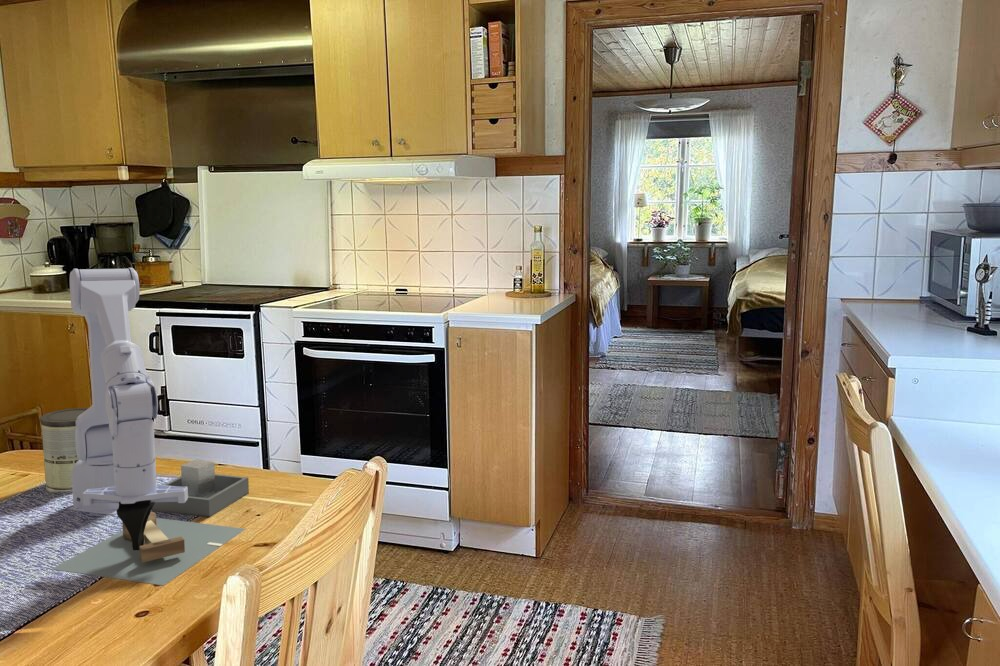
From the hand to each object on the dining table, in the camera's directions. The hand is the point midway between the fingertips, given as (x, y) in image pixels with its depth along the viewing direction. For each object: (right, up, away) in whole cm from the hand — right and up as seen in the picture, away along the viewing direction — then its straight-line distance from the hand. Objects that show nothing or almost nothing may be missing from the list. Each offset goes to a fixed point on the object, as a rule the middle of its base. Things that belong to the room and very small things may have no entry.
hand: (138, 547), depth 117 cm
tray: (0, +2, +24) cm, 24 cm away
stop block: (0, +2, +23) cm, 23 cm away
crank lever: (0, -1, +4) cm, 4 cm away
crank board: (+1, -1, +4) cm, 4 cm away
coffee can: (-28, +3, +32) cm, 43 cm away
